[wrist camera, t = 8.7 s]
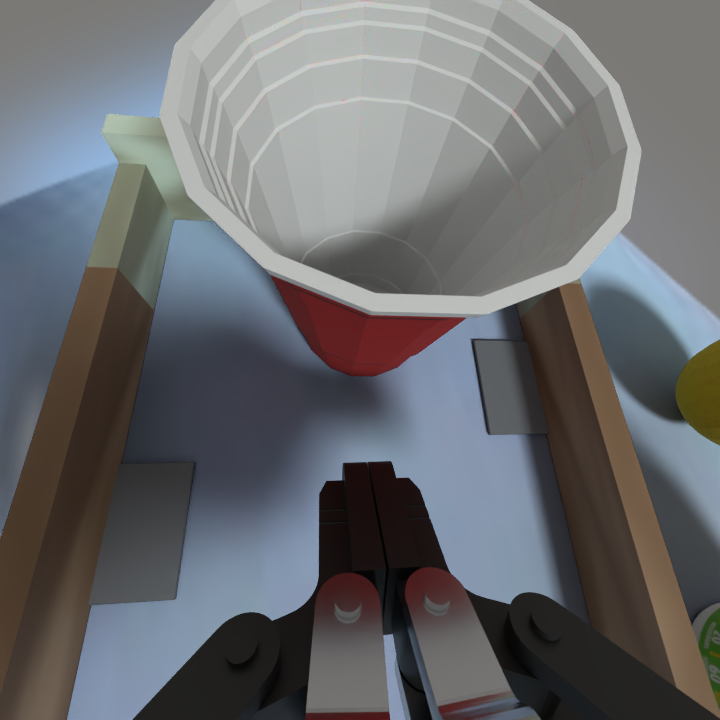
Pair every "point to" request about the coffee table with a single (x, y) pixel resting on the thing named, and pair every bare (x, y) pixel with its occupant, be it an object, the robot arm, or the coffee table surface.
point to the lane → (113, 415)
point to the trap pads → (174, 480)
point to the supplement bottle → (710, 645)
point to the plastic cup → (400, 159)
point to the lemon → (701, 392)
